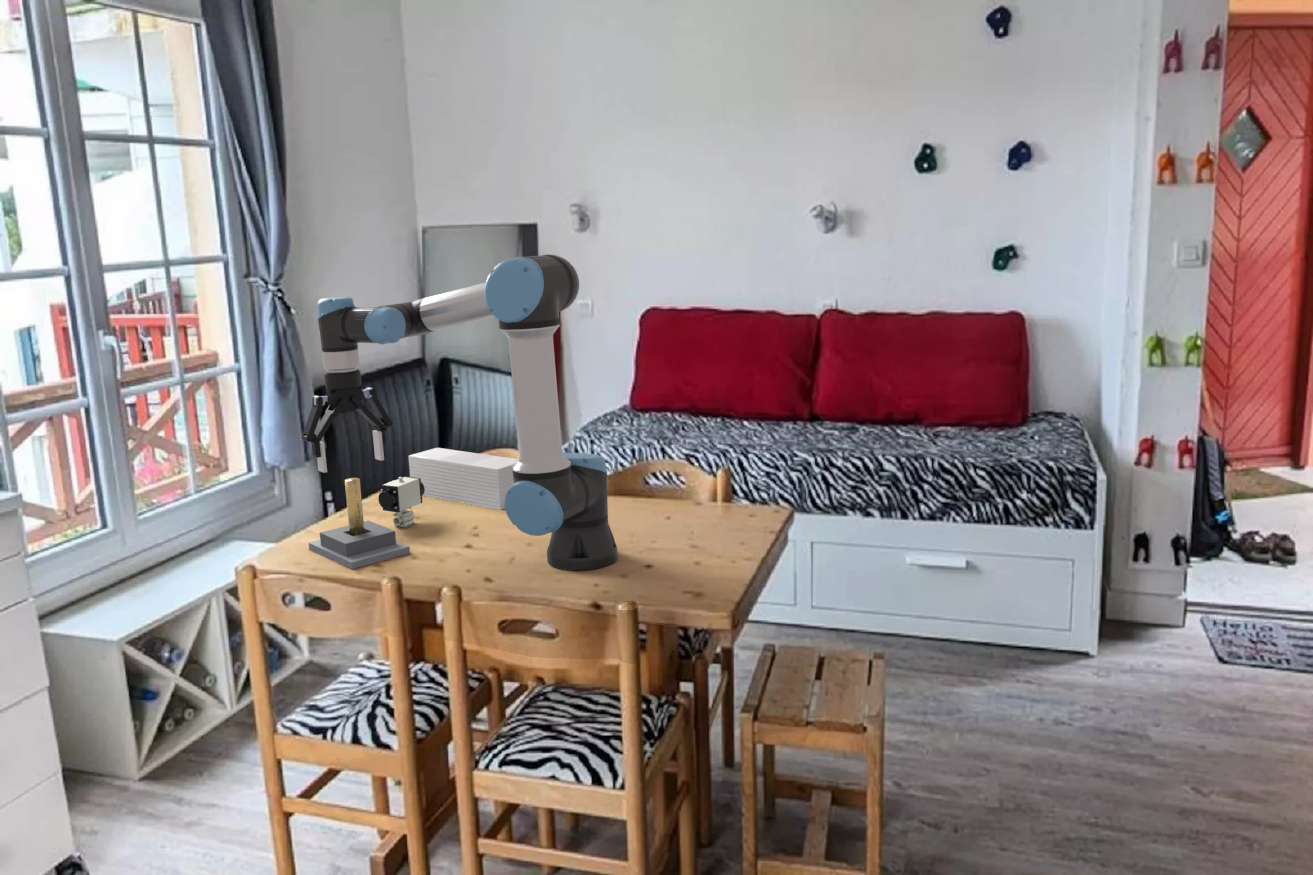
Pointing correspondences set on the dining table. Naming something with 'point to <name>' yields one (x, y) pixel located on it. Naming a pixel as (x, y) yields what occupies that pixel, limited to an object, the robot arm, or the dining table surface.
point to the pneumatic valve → (401, 498)
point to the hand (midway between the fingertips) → (351, 465)
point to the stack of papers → (463, 476)
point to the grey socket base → (359, 545)
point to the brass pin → (354, 506)
